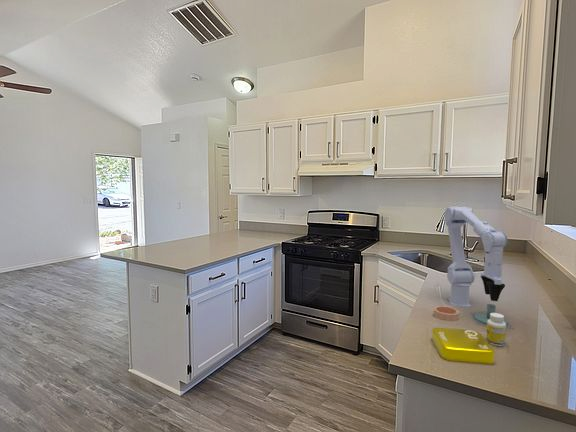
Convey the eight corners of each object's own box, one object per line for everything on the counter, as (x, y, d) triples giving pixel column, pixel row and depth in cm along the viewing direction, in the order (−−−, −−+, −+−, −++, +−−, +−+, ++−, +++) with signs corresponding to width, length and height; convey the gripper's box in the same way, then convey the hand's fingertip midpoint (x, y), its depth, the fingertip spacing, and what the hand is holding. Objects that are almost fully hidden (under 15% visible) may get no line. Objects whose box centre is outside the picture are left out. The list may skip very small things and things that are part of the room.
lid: (471, 313, 133) (472, 299, 132) (502, 316, 129) (503, 302, 128) (477, 324, 122) (478, 308, 122) (511, 328, 119) (512, 312, 118)
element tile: (430, 338, 113) (431, 325, 112) (476, 342, 110) (477, 328, 110) (442, 361, 98) (443, 346, 98) (496, 366, 96) (497, 350, 95)
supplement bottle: (487, 337, 113) (489, 310, 112) (506, 342, 109) (507, 314, 108) (484, 343, 108) (486, 315, 108) (504, 348, 105) (505, 319, 104)
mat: (470, 314, 133) (470, 312, 133) (503, 317, 129) (503, 316, 129) (476, 325, 122) (476, 324, 122) (513, 330, 118) (513, 328, 118)
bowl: (432, 311, 136) (432, 305, 135) (456, 314, 133) (456, 307, 132) (434, 320, 127) (435, 313, 127) (460, 323, 124) (460, 315, 124)
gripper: (476, 258, 132) (475, 290, 133) (486, 266, 118) (484, 302, 119) (496, 259, 129) (494, 292, 131) (508, 268, 116) (506, 304, 117)
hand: (491, 297), depth 125 cm, fingers open, 7 cm apart
